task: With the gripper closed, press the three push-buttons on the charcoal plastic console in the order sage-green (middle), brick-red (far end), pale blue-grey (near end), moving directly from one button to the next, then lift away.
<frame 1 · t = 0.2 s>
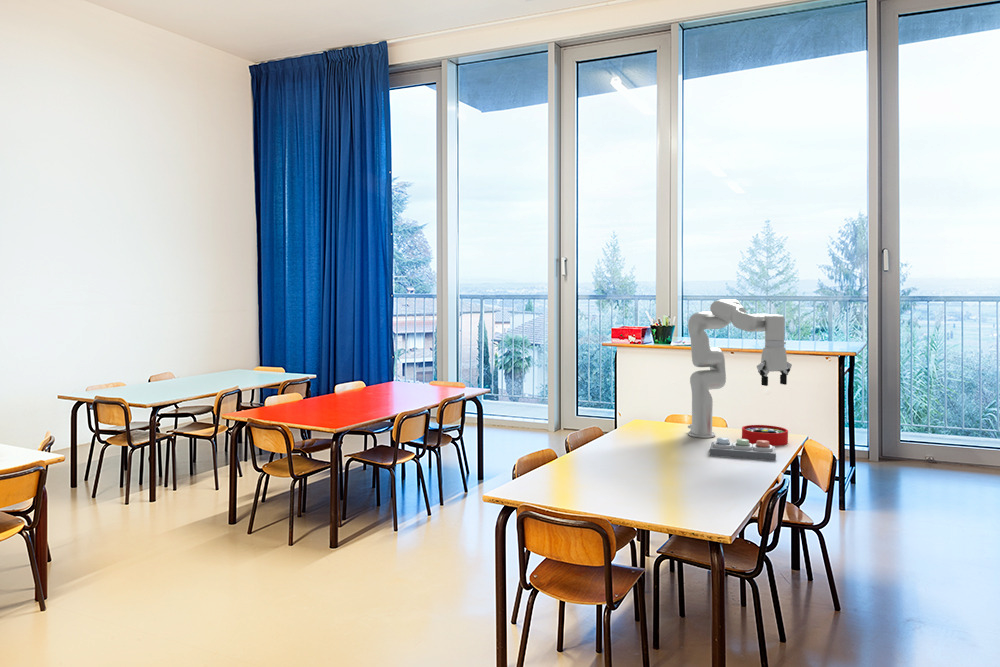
hand: (774, 384, 285), 30 cm above the table, fingers open, 9 cm apart
sage button: (742, 442, 290), point 5 cm above the table, slide at 0.0 cm
console: (742, 454, 291), on the table
brick button: (762, 443, 287), point 5 cm above the table, slide at 0.0 cm
blue grey button: (723, 441, 293), point 5 cm above the table, slide at 0.0 cm
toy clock: (764, 441, 316), on the table
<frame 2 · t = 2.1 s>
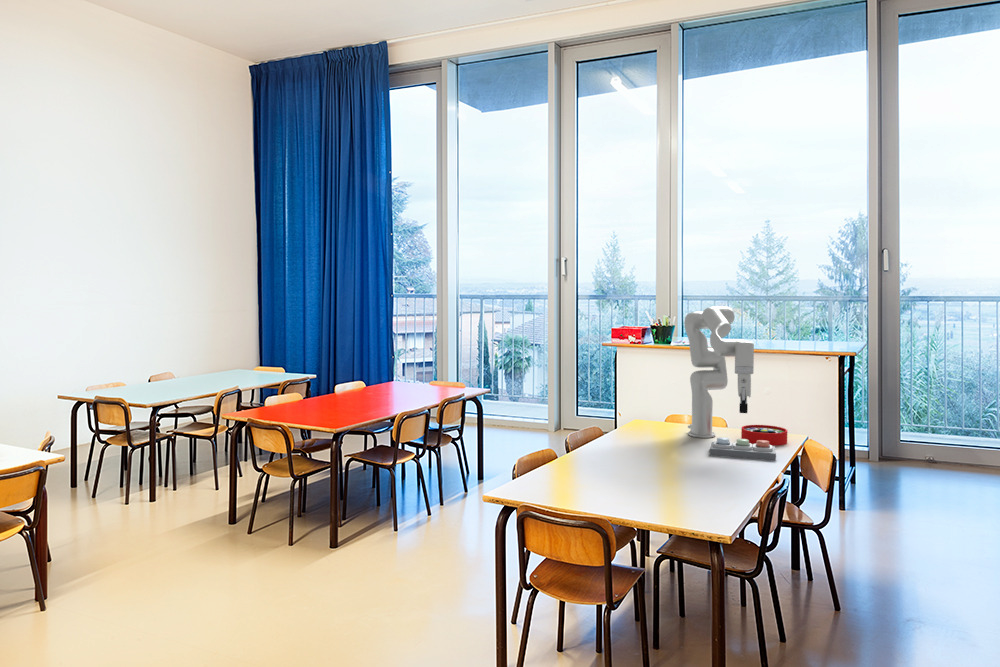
hand: (743, 412, 289), 18 cm above the table, fingers closed
nothing on the table moved.
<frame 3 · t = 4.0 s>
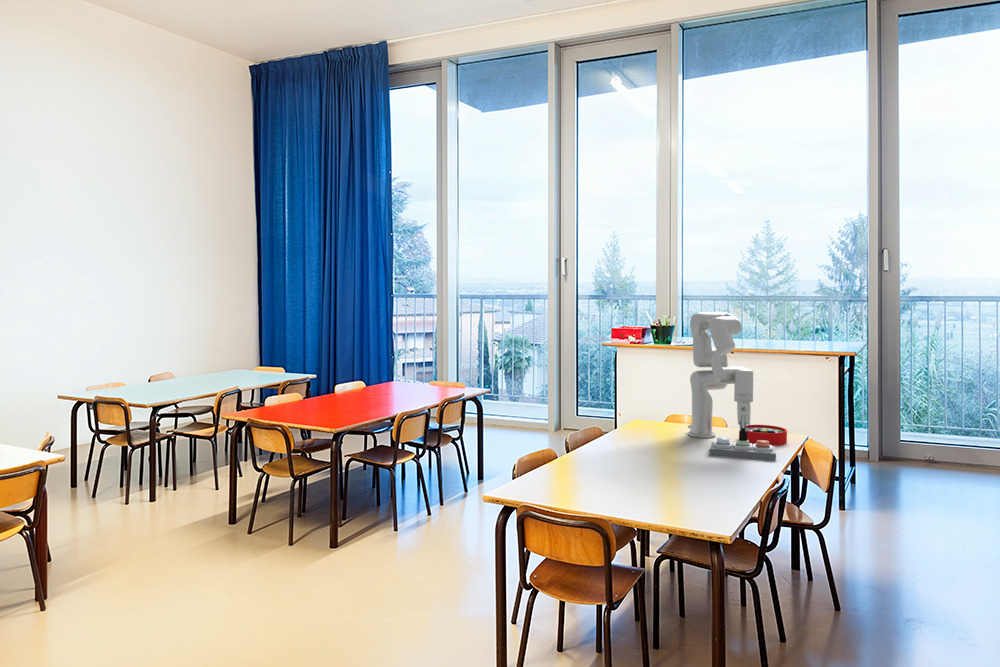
hand: (743, 440, 290), 6 cm above the table, fingers closed
sage button: (742, 442, 290), point 5 cm above the table, slide at 0.1 cm, touching gripper
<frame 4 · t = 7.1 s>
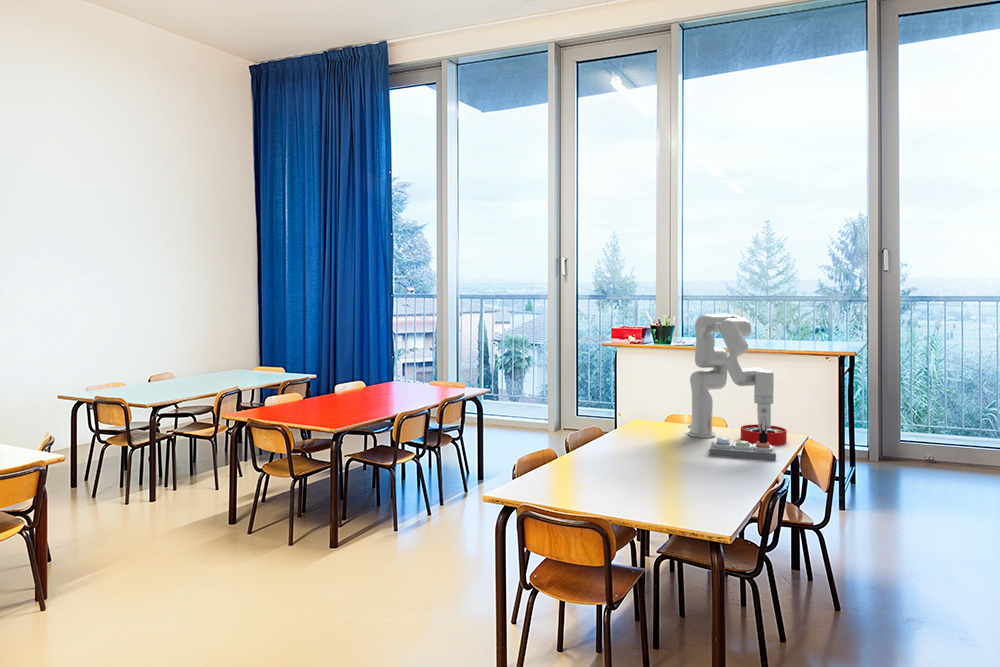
hand: (763, 442, 287), 6 cm above the table, fingers closed
sage button: (742, 444, 290), point 4 cm above the table, slide at 0.8 cm
brick button: (762, 444, 287), point 5 cm above the table, slide at 0.4 cm, touching gripper
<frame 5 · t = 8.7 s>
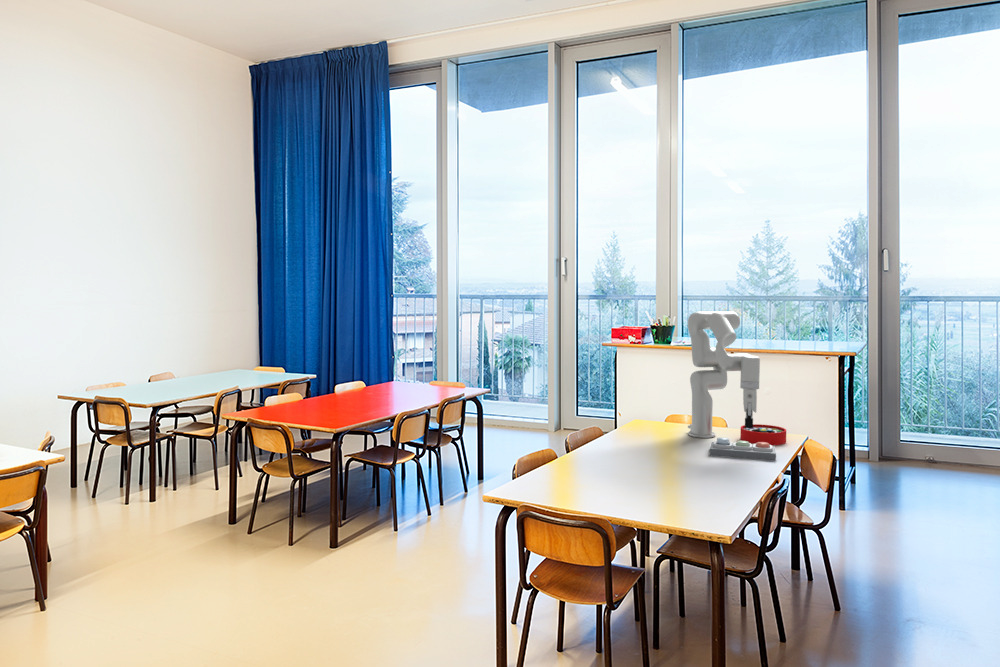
hand: (748, 427, 289), 12 cm above the table, fingers closed
brick button: (762, 445, 287), point 4 cm above the table, slide at 0.8 cm
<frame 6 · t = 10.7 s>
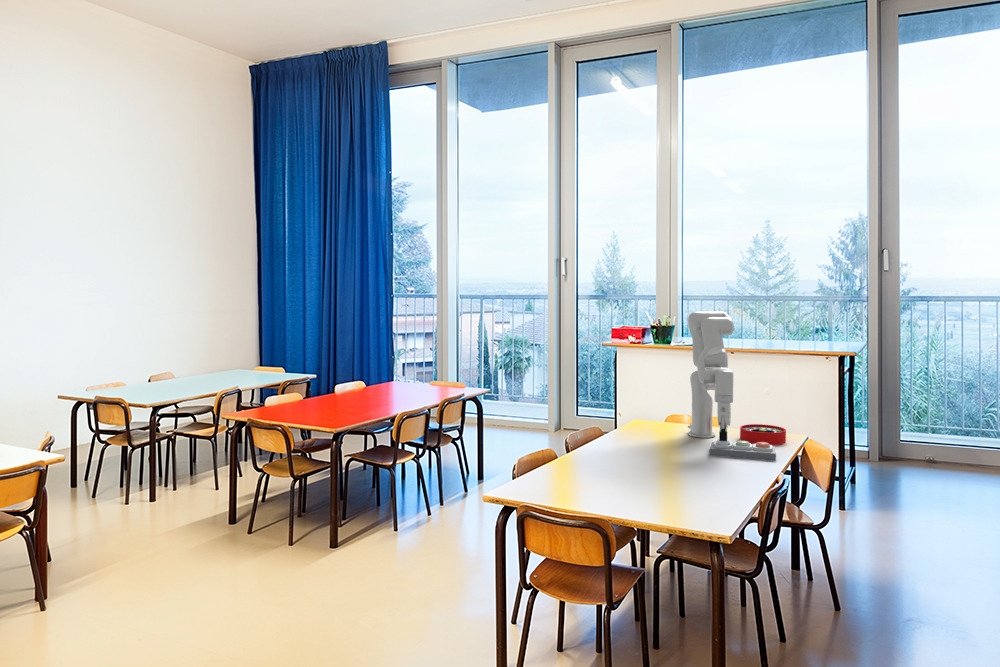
hand: (723, 440, 293), 5 cm above the table, fingers closed
blue grey button: (723, 442, 293), point 4 cm above the table, slide at 0.8 cm, touching gripper
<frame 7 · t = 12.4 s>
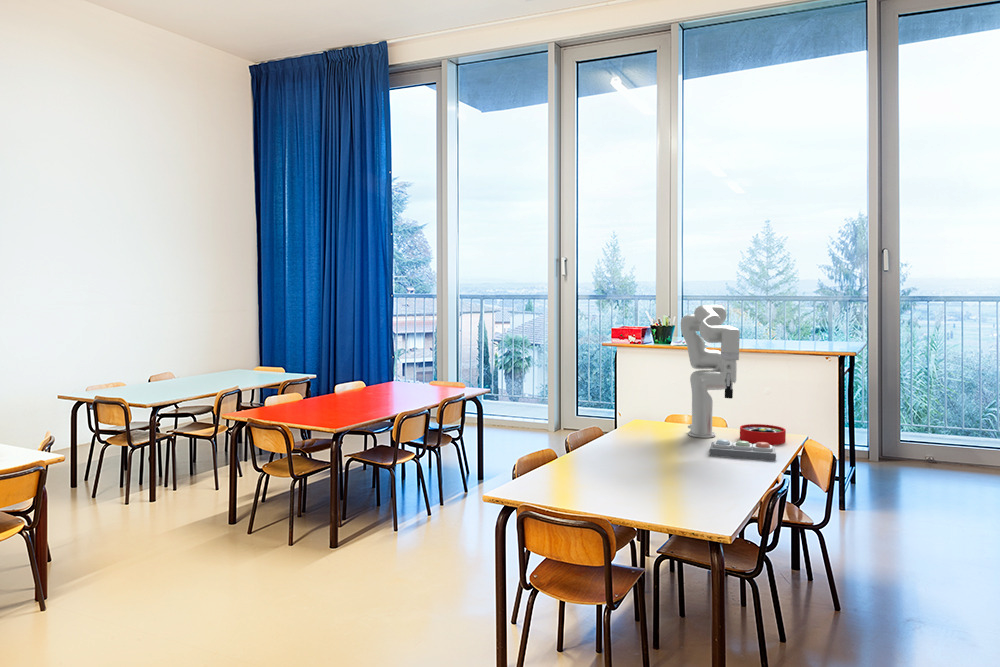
hand: (728, 397, 295), 23 cm above the table, fingers closed
blue grey button: (723, 442, 293), point 4 cm above the table, slide at 0.8 cm
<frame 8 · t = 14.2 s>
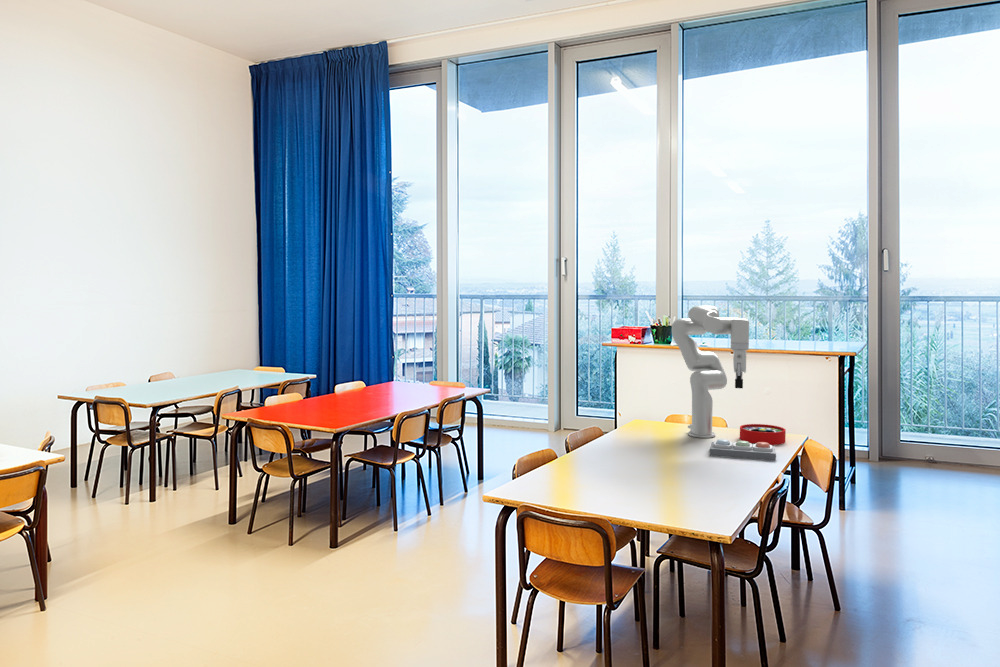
hand: (738, 387, 299), 27 cm above the table, fingers closed
at the end: sage button slide at 0.8 cm; brick button slide at 0.8 cm; blue grey button slide at 0.8 cm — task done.
